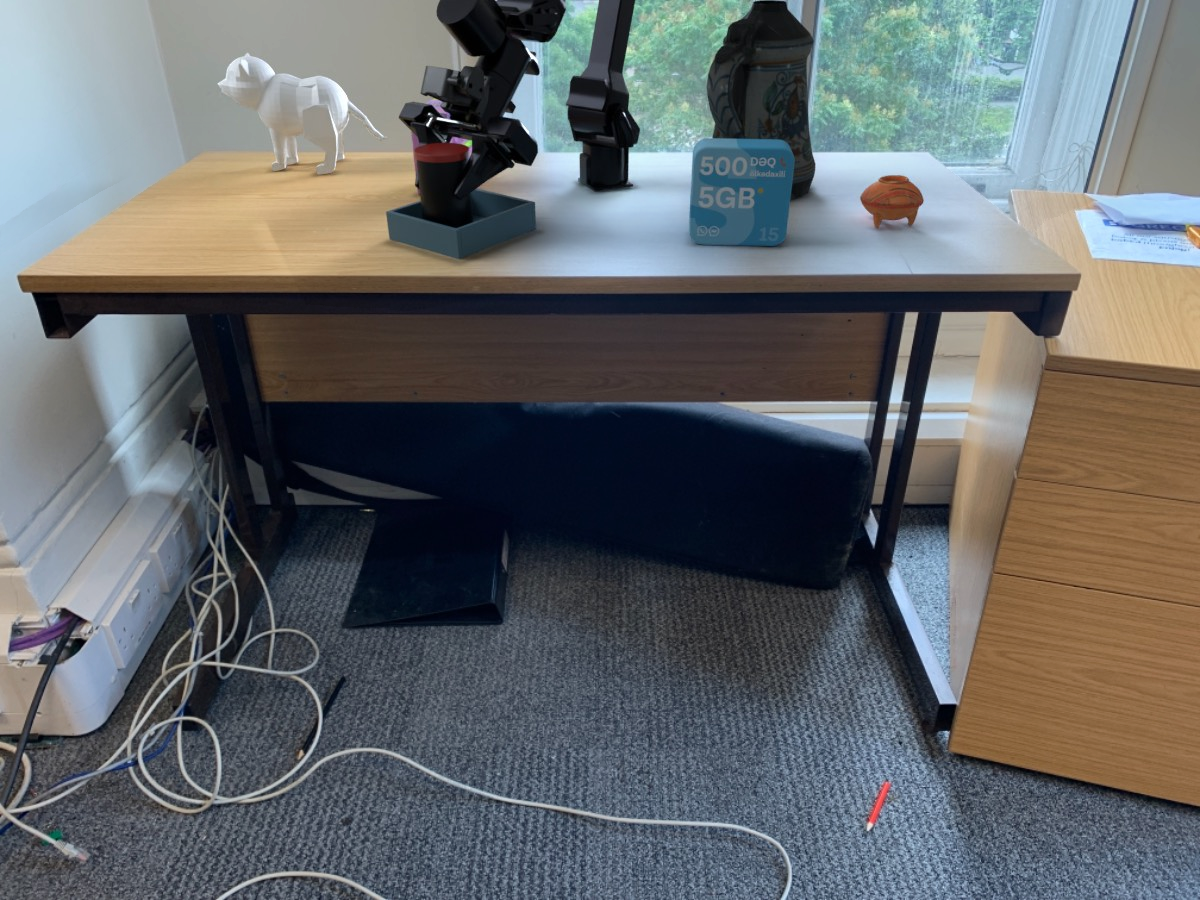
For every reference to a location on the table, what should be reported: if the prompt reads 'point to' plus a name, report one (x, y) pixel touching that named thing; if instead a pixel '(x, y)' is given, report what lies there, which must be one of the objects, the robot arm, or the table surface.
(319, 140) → the cat figurine
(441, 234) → the tray
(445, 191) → the tin
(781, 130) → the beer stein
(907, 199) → the pot
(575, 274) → the table surface
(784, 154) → the data package
